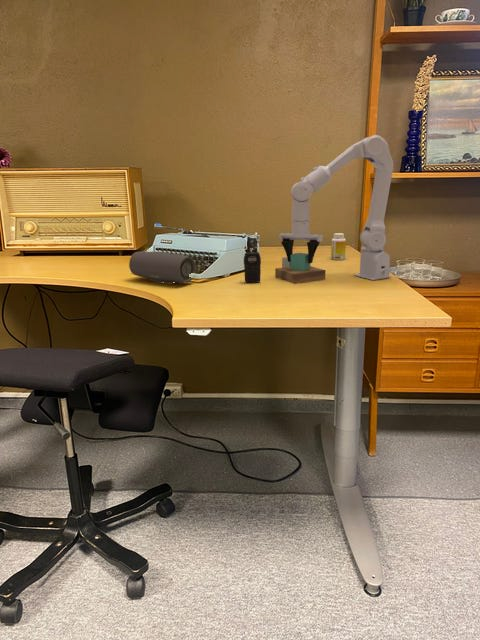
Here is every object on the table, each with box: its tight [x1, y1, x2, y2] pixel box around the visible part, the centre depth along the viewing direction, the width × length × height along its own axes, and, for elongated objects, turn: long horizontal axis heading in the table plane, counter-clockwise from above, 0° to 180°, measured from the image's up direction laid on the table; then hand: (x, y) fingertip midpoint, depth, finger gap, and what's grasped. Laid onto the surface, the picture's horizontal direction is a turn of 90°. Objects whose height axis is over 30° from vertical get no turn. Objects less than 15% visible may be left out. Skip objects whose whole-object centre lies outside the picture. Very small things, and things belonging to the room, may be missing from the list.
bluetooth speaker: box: [128, 251, 197, 284], centre depth 157 cm, size 23×9×10 cm, turn 56°
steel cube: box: [281, 256, 291, 268], centre depth 169 cm, size 5×5×5 cm
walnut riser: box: [274, 265, 327, 284], centre depth 158 cm, size 12×12×3 cm
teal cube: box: [291, 252, 311, 271], centre depth 157 cm, size 5×5×5 cm
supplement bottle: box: [330, 232, 347, 261], centre depth 189 cm, size 6×6×10 cm
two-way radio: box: [243, 235, 262, 284], centre depth 153 cm, size 6×4×15 cm
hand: (300, 262), depth 157 cm, fingers open, 7 cm apart
